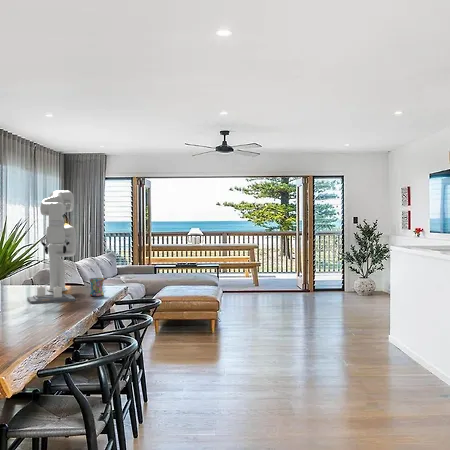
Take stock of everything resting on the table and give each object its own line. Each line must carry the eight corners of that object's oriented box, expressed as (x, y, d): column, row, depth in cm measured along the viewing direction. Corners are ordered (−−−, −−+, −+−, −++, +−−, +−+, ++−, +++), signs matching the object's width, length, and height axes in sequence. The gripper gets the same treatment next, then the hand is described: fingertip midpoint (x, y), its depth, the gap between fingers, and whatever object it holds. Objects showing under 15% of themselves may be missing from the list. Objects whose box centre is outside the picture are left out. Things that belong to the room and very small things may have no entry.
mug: (89, 295, 320) (89, 277, 320) (105, 294, 322) (105, 277, 322) (87, 297, 309) (87, 280, 308) (103, 297, 310) (103, 279, 310)
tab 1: (37, 297, 302) (37, 285, 302) (44, 296, 303) (44, 284, 303) (37, 297, 298) (37, 286, 298) (45, 297, 300) (45, 285, 300)
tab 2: (53, 297, 298) (53, 286, 298) (60, 297, 300) (60, 285, 300) (54, 298, 295) (54, 286, 294) (61, 298, 296) (61, 286, 296)
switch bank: (27, 299, 302) (27, 295, 302) (69, 296, 313) (69, 292, 313) (30, 304, 286) (30, 299, 286) (75, 300, 297) (75, 296, 297)
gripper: (69, 224, 307) (69, 252, 307) (38, 224, 298) (38, 253, 298) (72, 223, 300) (72, 253, 300) (40, 224, 292) (41, 254, 292)
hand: (55, 253), depth 299 cm, fingers open, 9 cm apart
